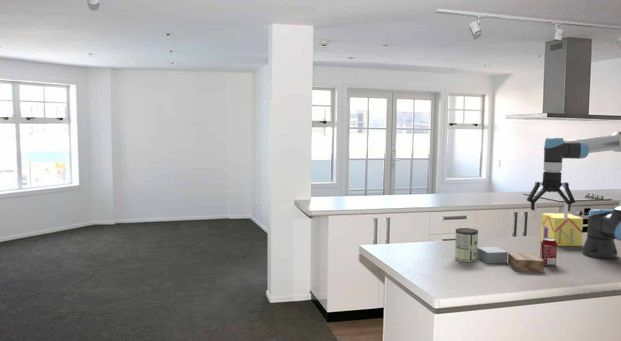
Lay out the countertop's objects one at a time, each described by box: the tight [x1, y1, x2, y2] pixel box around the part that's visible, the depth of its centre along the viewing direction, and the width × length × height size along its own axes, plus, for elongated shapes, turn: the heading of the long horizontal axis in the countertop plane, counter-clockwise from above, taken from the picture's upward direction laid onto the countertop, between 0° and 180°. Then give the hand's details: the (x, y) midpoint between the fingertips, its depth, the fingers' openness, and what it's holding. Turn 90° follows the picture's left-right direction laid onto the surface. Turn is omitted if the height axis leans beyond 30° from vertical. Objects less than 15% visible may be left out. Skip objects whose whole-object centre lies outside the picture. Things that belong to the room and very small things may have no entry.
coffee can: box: [454, 227, 479, 263], centre depth 235 cm, size 10×10×14 cm
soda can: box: [539, 238, 558, 267], centre depth 226 cm, size 7×7×12 cm
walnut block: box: [507, 252, 545, 273], centre depth 221 cm, size 12×12×5 cm
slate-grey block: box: [477, 246, 509, 264], centre depth 234 cm, size 10×10×5 cm
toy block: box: [540, 212, 584, 247], centre depth 271 cm, size 15×15×15 cm
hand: (549, 217), depth 225 cm, fingers open, 13 cm apart
